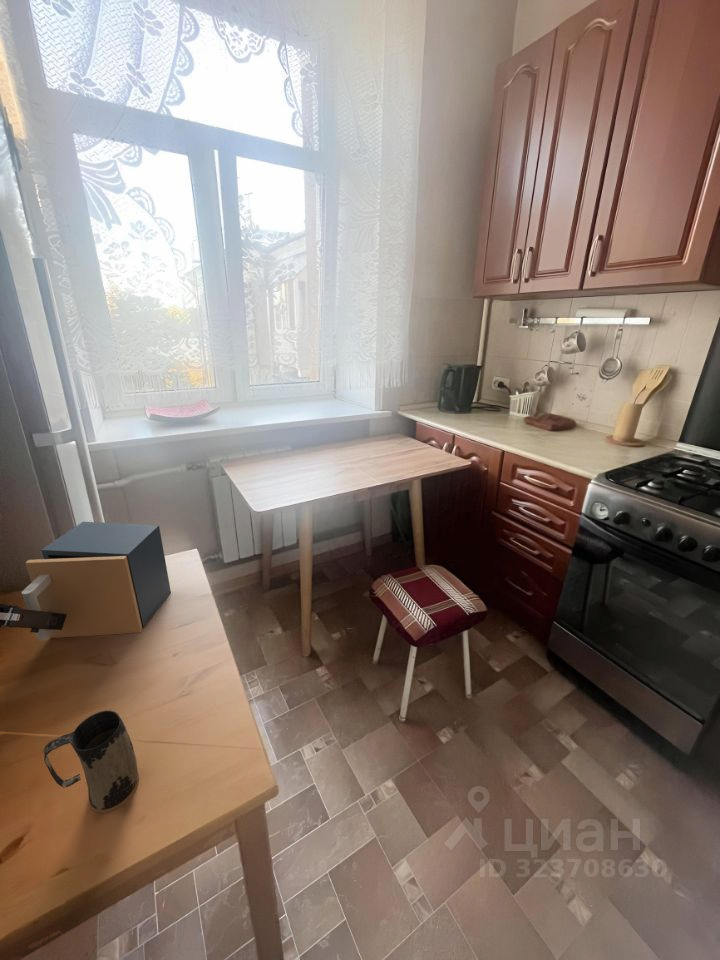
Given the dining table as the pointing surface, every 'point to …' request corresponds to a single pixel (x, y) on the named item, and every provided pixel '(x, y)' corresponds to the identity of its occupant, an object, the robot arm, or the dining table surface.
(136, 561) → the cupboard
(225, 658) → the dining table surface
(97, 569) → the cupboard door
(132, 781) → the mug
